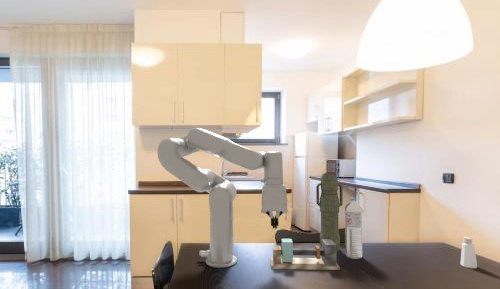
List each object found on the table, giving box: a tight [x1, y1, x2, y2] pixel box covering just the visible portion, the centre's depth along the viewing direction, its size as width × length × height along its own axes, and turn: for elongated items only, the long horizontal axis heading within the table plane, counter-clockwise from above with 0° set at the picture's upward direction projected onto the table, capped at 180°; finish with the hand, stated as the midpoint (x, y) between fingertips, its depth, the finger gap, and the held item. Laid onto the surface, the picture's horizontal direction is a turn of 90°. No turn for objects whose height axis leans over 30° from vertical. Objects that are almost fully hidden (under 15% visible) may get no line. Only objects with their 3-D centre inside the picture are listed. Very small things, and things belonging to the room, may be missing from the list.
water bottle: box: [344, 197, 363, 260], centre depth 117 cm, size 7×7×25 cm
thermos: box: [315, 172, 344, 253], centre depth 126 cm, size 9×12×35 cm
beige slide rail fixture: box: [269, 239, 341, 271], centre depth 108 cm, size 26×9×9 cm, turn 88°
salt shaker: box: [459, 236, 478, 269], centre depth 107 cm, size 5×5×11 cm
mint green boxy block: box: [281, 238, 294, 262], centre depth 108 cm, size 4×5×8 cm
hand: (274, 227), depth 109 cm, fingers closed
